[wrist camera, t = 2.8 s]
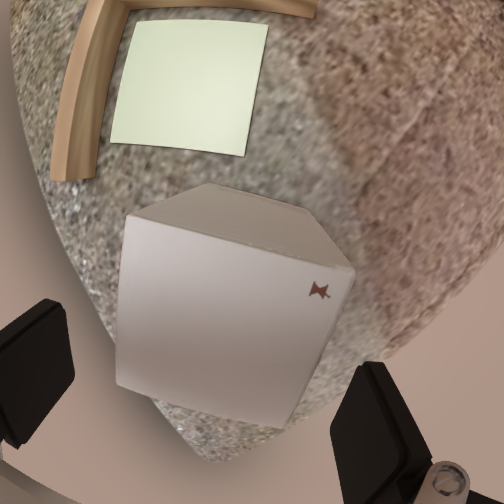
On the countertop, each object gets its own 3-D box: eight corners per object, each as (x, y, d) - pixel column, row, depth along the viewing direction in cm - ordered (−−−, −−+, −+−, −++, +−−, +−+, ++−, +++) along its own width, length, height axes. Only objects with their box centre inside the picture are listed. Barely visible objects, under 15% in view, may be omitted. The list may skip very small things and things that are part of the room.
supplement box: (206, 179, 20) (123, 203, 8) (310, 208, 21) (368, 271, 8) (184, 276, 22) (109, 386, 10) (279, 303, 23) (287, 435, 10)
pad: (268, 27, 17) (268, 25, 16) (244, 156, 20) (243, 156, 19) (138, 23, 17) (137, 21, 16) (112, 142, 20) (109, 142, 19)
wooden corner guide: (314, 4, 16) (322, -23, 12) (281, 203, 20) (284, 212, 17) (119, -2, 16) (98, -22, 12) (80, 175, 20) (49, 180, 17)
